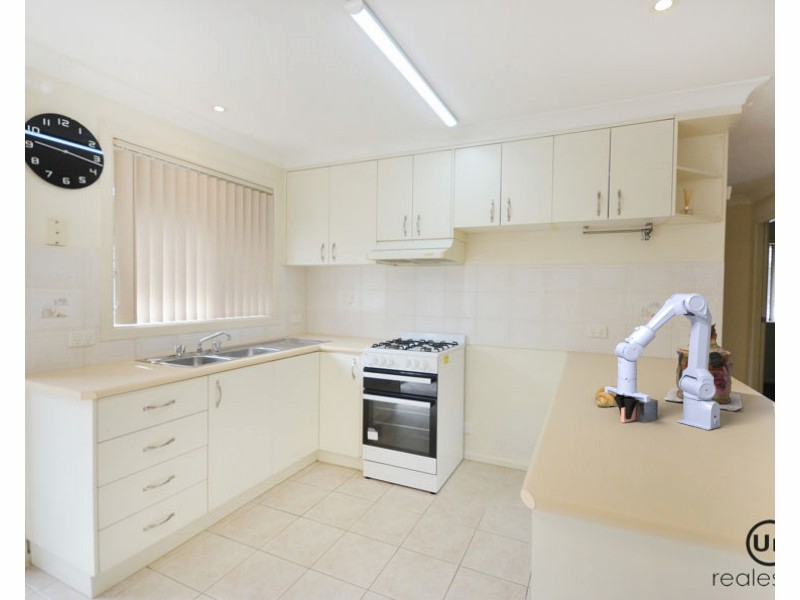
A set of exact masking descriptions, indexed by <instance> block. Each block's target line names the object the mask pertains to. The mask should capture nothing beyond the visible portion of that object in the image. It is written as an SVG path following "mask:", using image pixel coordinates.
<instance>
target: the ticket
mask: <svg viewBox="0 0 800 600" xmlns="http://www.w3.org/2000/svg"><path fill="white" fill-rule="evenodd" d="M634 421H637V405H636V407H635V409H634V411H633V414H632V417H631V419H626V417H625V407H623V408H621V415H620V423H622V422H623V424H625V422H626V423H629V422H634Z"/></svg>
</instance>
